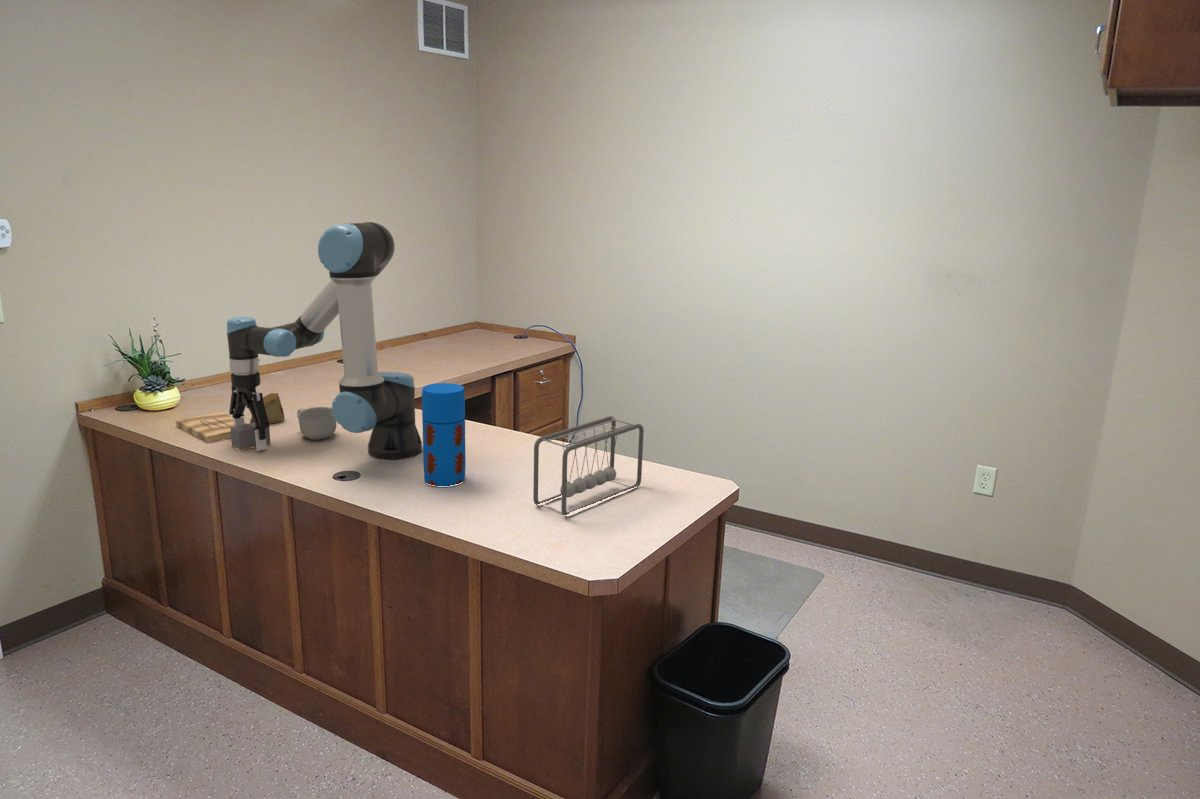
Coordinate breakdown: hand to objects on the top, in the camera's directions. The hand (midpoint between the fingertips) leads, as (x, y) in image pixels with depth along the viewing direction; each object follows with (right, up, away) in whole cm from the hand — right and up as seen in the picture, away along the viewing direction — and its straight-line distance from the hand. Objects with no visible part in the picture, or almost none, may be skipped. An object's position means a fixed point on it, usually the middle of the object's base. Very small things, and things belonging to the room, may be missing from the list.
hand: (251, 444), depth 237 cm
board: (-16, +4, +13) cm, 21 cm away
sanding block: (0, 0, 0) cm, 0 cm away
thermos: (+60, -8, -21) cm, 64 cm away
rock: (-4, +6, +22) cm, 23 cm away
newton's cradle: (+98, -12, -29) cm, 103 cm away
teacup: (+15, +2, +11) cm, 18 cm away
